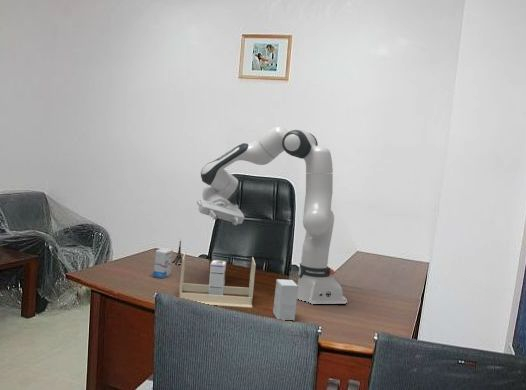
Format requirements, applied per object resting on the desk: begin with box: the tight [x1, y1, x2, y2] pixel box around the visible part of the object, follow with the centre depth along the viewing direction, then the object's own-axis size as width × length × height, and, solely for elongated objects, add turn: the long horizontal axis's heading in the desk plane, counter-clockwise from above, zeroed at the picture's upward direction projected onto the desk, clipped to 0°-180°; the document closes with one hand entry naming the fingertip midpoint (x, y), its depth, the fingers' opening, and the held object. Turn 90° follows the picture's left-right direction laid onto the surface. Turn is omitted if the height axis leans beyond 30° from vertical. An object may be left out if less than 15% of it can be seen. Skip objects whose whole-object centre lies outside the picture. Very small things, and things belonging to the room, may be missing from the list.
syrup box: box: [207, 260, 227, 296], centre depth 186 cm, size 6×6×14 cm
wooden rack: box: [178, 251, 257, 309], centre depth 186 cm, size 28×19×16 cm
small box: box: [272, 278, 298, 322], centre depth 172 cm, size 8×6×13 cm
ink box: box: [153, 247, 174, 279], centre depth 209 cm, size 8×5×12 cm, turn 168°
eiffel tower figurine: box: [172, 238, 183, 267], centre depth 232 cm, size 15×10×13 cm
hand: (225, 220), depth 194 cm, fingers open, 8 cm apart
